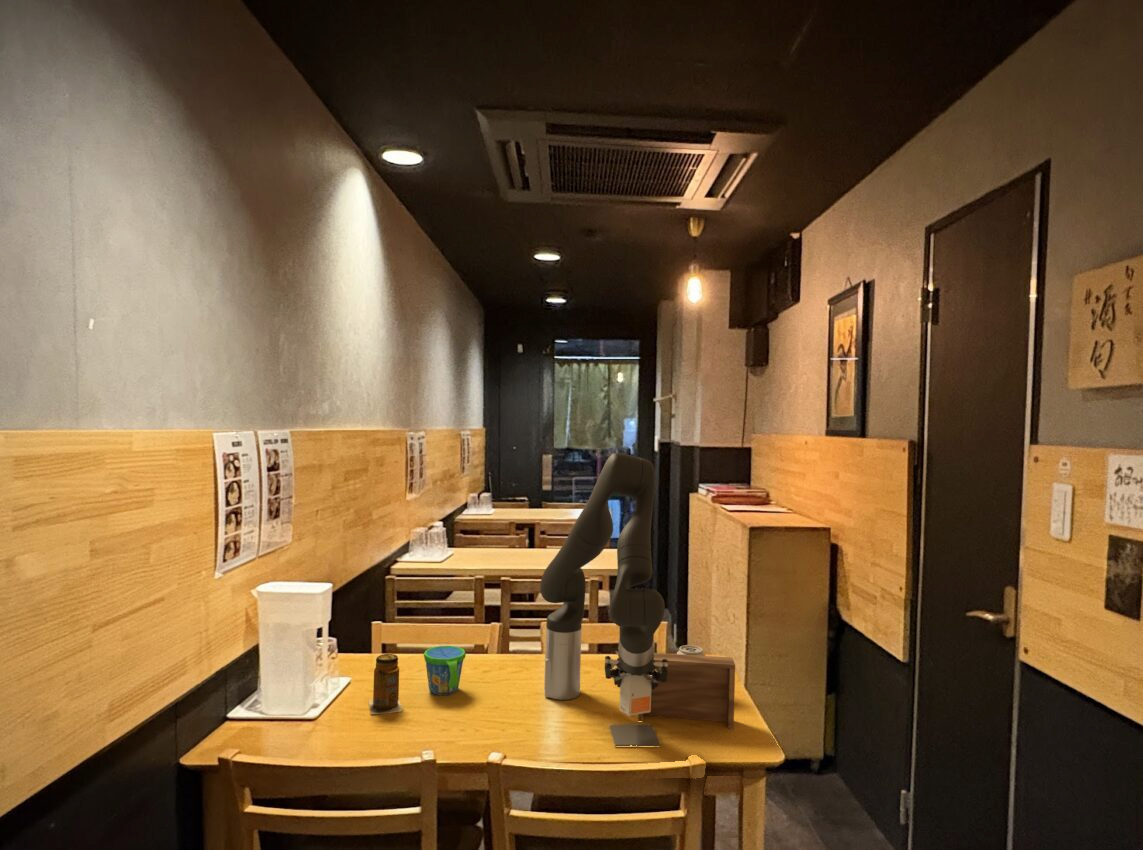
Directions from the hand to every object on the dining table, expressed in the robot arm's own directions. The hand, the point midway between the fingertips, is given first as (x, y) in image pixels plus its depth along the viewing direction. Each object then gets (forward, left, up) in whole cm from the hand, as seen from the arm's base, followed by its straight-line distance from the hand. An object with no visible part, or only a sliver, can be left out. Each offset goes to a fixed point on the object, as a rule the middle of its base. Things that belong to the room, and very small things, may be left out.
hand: (635, 684), depth 154 cm
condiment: (-59, +16, -12) cm, 62 cm away
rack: (+13, +7, -11) cm, 19 cm away
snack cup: (-46, +26, -12) cm, 54 cm away
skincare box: (0, -2, -6) cm, 6 cm away
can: (+19, +24, -12) cm, 32 cm away
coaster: (0, -1, -11) cm, 11 cm away
